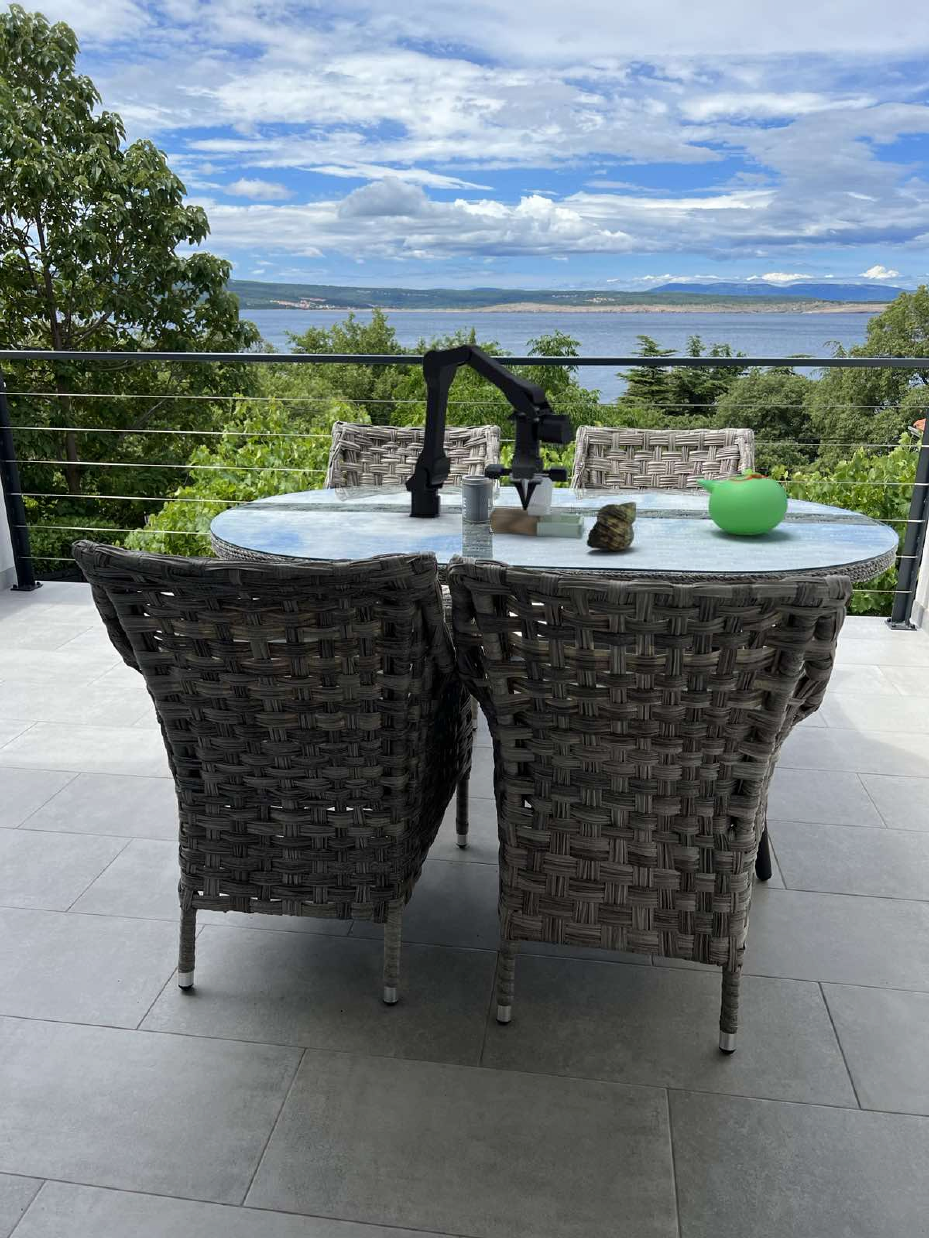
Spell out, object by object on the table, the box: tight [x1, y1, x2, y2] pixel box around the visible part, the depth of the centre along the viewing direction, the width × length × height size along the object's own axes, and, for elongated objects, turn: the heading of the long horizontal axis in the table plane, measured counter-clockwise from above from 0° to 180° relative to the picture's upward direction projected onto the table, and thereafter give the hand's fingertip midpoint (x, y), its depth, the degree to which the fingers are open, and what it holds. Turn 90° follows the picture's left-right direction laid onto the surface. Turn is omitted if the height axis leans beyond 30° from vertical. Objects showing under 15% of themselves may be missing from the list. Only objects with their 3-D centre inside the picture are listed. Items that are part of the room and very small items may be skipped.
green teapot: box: [695, 468, 789, 536], centre depth 226 cm, size 18×17×15 cm
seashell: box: [586, 501, 637, 551], centre depth 211 cm, size 11×11×10 cm
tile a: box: [528, 503, 548, 516], centre depth 227 cm, size 4×4×2 cm
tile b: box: [551, 509, 562, 523], centre depth 228 cm, size 4×4×2 cm
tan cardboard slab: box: [489, 507, 541, 536], centre depth 229 cm, size 11×9×4 cm
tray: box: [536, 513, 585, 539], centre depth 228 cm, size 10×11×3 cm
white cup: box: [525, 477, 554, 514], centre depth 246 cm, size 8×8×10 cm
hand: (525, 510), depth 228 cm, fingers closed
